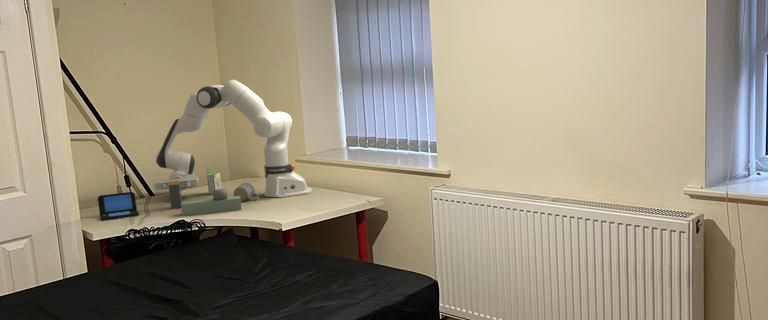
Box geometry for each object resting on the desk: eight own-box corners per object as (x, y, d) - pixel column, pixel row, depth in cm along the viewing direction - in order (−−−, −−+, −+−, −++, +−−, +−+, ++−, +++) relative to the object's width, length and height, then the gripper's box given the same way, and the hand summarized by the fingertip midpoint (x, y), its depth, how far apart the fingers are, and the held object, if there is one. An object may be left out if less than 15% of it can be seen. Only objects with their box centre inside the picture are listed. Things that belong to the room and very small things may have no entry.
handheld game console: (101, 221, 305) (98, 200, 303) (99, 216, 317) (97, 195, 316) (139, 216, 311) (137, 195, 310) (136, 211, 323) (134, 191, 322)
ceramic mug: (233, 202, 327) (232, 186, 326) (240, 198, 335) (238, 182, 334) (255, 202, 325) (254, 185, 324) (261, 198, 333) (260, 182, 332)
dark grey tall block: (182, 205, 328) (179, 178, 326) (181, 208, 322) (178, 180, 320) (172, 206, 327) (169, 179, 325) (171, 209, 321) (168, 181, 319)
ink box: (216, 194, 349) (213, 167, 347) (208, 195, 350) (205, 168, 348) (222, 192, 356) (219, 165, 354) (214, 192, 357) (212, 165, 355)
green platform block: (240, 204, 322) (239, 184, 321) (241, 209, 310) (239, 189, 309) (183, 210, 317) (181, 190, 315) (182, 215, 305) (180, 195, 303)
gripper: (154, 177, 346) (152, 181, 332) (198, 173, 350) (197, 177, 337) (156, 189, 347) (153, 195, 333) (199, 186, 351) (198, 191, 337)
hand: (175, 186), depth 335 cm, fingers open, 8 cm apart
